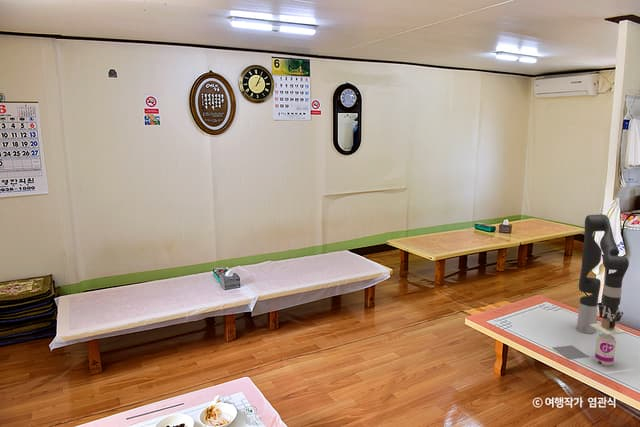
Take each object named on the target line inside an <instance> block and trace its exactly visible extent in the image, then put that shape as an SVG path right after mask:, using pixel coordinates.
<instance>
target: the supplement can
mask: <svg viewBox="0 0 640 427" xmlns="http://www.w3.org/2000/svg"><path fill="white" fill-rule="evenodd" d="M615 337H616V336H615ZM615 337H614V335H605V334H604V333H599V335H598V336H597V337H596V344H595V346H596V347H595V352H594V362H595V363H597V364H599V365H602V366H606V367H611V366H613V365H614V360H615V359H614V358H615V353H616V344H617V340H616V338H615Z"/></svg>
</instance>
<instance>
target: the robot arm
mask: <svg viewBox="0 0 640 427" xmlns="http://www.w3.org/2000/svg"><path fill="white" fill-rule="evenodd" d="M593 232H604V233H603V236H602V237H601V239H600V241H599V244H598V243H597V241H596V240H595V238H594V236H593ZM619 249H620V248H618V246H617V243H616V241H615V237H614V234H613V229H612V225H611V221H610V218H609V217H608V215H607V214H588V215H586V217H585V220H584V241H583V248H582V254H581V255H582V257H581V269H580V274H579V279H578V280H579V281H578V291H580V292H581V293H587V294H589V295H585V296H581V297H580V298H579V306H578V314H577V324H576V330H577V331H578V332H580V333H583V334H594V333H595V332H597V329H595V328H593V327H591V326H590V324H598V316H597V313H599V315H601V318H610V320H611V321H610V328H614V327H615V326H616V323H617V322H620V321H621V319H622V317H623V314H624V312H623V311H620V309H619V306H620V305H621V299H622V292H623V291H622V290H623V289H622V285H623V279H624V277H625V275H626V273H627V270H628V269H629V267H630V261H629V259H628V258H627V256H623V255H619V254H620V250H619ZM602 254H603V267H604V268H605V269H606V270H610V271H614V270H615V272H610V273H607V274H606V275H605V280H604V287H603V291H602V292H603V293H602V302H599V296H600V290H601V286H602V285H601V280H600V279H599V278H595V277H589V276H588V275H589V274H590V272H591V271H592V270H594V269H595V268H596V267H597V266H599V265H600V264H601V260H602Z"/></svg>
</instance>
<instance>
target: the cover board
mask: <svg viewBox="0 0 640 427" xmlns="http://www.w3.org/2000/svg"><path fill="white" fill-rule="evenodd" d="M601 318H602V319H601V323H597V324H590V326H591V327H593V328H595V329H596V331H598V332H600V333H601V334H605V335H611V336H614V335H622V334H627V332H626V331H625V330H623V329H621V328H620V327H619V326H616V325H615V327H614V328H610V321H611V320H610V317H608V318H603V317H601Z"/></svg>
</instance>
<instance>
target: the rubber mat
mask: <svg viewBox="0 0 640 427" xmlns="http://www.w3.org/2000/svg"><path fill="white" fill-rule="evenodd" d="M551 349H552V350H554V351H556V352H557V353H558V354H560V355H561V356H562V357H564V358H566V359H567V360H575V359H584V358H585V359H586V358H590V356H589V355H588V354H586V353H585V352H583V351H582V350H580V349H578V348H577V347H576V346H574V345H564V346H563V345H562V346H553V347H551Z"/></svg>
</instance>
